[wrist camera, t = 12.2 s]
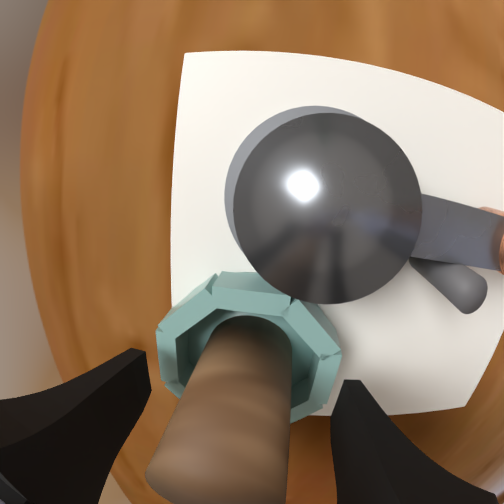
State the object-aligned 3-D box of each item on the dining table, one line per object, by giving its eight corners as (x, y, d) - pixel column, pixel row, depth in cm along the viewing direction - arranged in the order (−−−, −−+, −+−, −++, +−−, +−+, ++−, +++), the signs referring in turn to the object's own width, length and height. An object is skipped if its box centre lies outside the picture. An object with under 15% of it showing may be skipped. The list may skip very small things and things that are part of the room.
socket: (346, 281, 11) (356, 301, 9) (314, 408, 13) (315, 434, 11) (170, 261, 12) (152, 277, 10) (178, 389, 13) (166, 413, 12)
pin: (298, 320, 11) (298, 478, 4) (285, 387, 12) (274, 525, 6) (208, 309, 12) (131, 445, 5) (208, 376, 13) (157, 503, 6)
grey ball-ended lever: (242, 259, 11) (223, 296, 8) (256, 121, 9) (241, 99, 6) (481, 289, 10) (522, 322, 7) (504, 180, 8) (555, 188, 5)
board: (530, 133, 8) (592, 132, 4) (460, 398, 13) (488, 450, 8) (191, 59, 10) (139, 9, 5) (183, 386, 14) (151, 451, 10)
